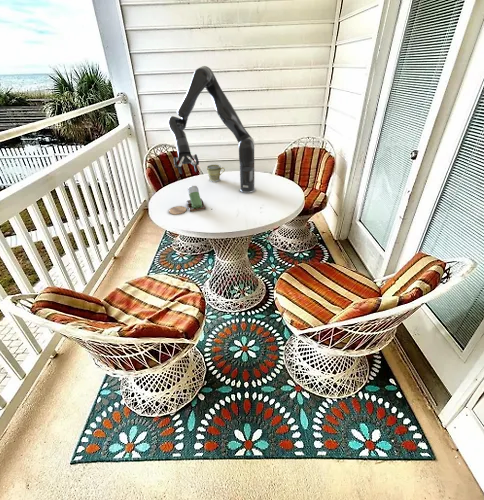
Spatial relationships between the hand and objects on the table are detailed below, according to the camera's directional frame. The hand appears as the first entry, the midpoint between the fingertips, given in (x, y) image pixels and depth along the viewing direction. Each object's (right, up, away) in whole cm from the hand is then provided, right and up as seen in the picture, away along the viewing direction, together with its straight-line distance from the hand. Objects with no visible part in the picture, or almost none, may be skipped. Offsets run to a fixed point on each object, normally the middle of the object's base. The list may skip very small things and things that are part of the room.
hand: (188, 172), depth 161 cm
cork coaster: (-6, -23, -2) cm, 24 cm away
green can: (+4, -15, -2) cm, 16 cm away
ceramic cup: (+14, +5, +38) cm, 40 cm away
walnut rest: (+4, -20, +1) cm, 21 cm away
